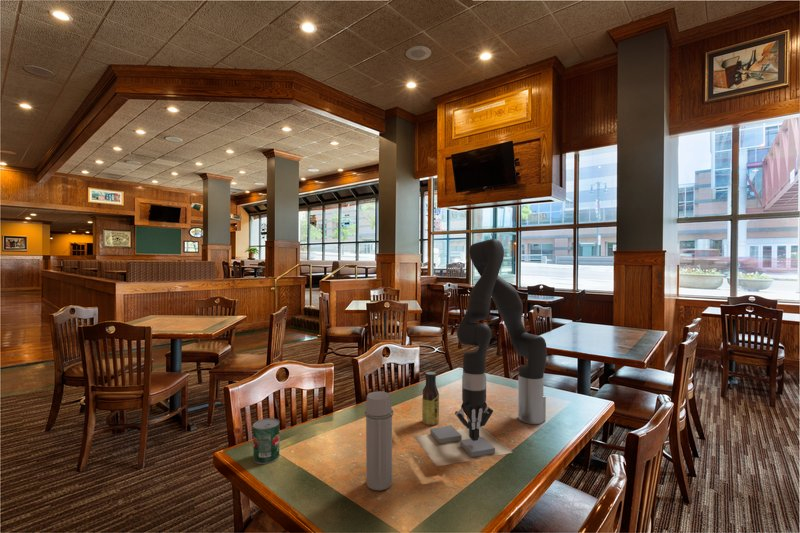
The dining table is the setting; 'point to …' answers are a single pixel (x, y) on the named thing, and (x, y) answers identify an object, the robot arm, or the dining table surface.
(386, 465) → the water bottle
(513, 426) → the dining table surface
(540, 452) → the dining table surface
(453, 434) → the slate tile
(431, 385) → the sauce bottle
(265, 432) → the canned tomato
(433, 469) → the dining table surface
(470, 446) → the slate tile
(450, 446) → the white flat sheet
